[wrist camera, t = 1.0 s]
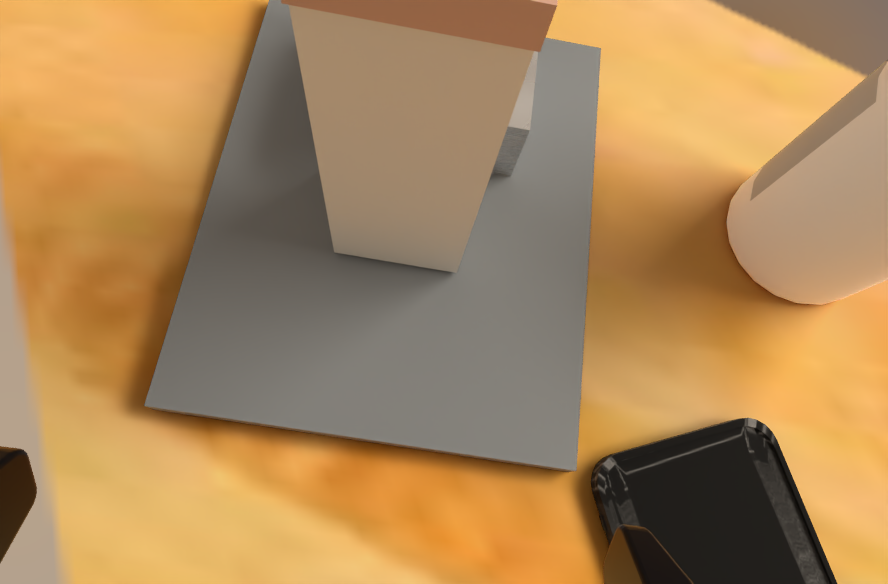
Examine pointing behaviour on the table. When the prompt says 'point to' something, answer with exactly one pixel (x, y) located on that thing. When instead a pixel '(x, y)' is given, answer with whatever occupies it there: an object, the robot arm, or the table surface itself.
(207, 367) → the base board
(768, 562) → the phone
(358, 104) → the tall rectangular pillar
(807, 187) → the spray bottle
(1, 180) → the table surface
